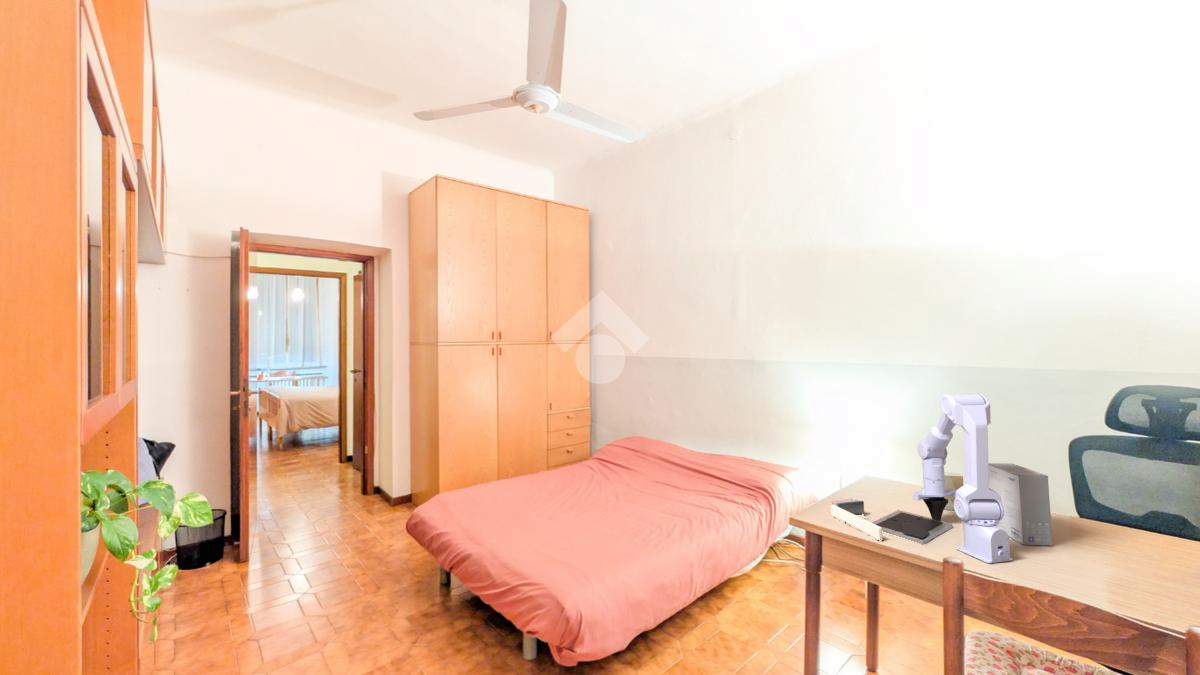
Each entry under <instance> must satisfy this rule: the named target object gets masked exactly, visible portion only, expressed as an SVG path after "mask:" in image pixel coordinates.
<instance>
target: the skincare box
mask: <svg viewBox="0 0 1200 675" xmlns="http://www.w3.org/2000/svg"><path fill="white" fill-rule="evenodd" d="M944 476H945V489H953V490H958V489H959V488H960V487H962V486H963V485H964V476H963V474H961V473H960V472H949V471H947V472H946V471H944ZM944 498H945V499H947V500H948V504H947V505H946V506H945V508H944V510H947V511H955V510H954V500H955V497H953V496H948V497H944Z"/></svg>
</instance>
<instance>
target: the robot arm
mask: <svg viewBox="0 0 1200 675" xmlns="http://www.w3.org/2000/svg"><path fill="white" fill-rule="evenodd" d="M940 409H941V415H940V418H939V421H938V423H937V424H936V425H933V426H932V427H931V428H930V430H929V432H928V434H927V436H926V437H925V439H922V440H919V441H918V443H917V452H918V455H919V456H920V458H921V464H922V477H923V480H922V481H923V482H922V483H923V488H922V490H919V491H917V492H912V499H913V500H915V501H923V502H924V503H925V506H926V507H927V509H928V511H929V514H930V518H932V519H934V520H936V521H942V516H943V514H944V508H945V506H946V505H947V504H948V500H947V499H945V498H944V497H948V496H953V497H955V500H954V510H953V511H954V512H955V514H956V515H957V517H958V518H959V519H960V520H962V526H963V528H962V529H963V544H964V546H958V547H956V550H958V551H960V552H962V553H964V554H966V555H968V556H971V557H974V558H976V559H978V560H980V561H982V562H984V563H987V564H995V563H1002V562H1008V561H1013V560H1014V559H1013V558H1012V556H1011V552H1010V551H1011V550H1010V549H1011V548H1010V537H1009V536H1008V534H1007V533H1006V532H1005V531H1004V530H1002V529H1001V528H999V527H998V526H997V525H996V524H999V521H1000V520H1002V519H1003V517H1004V508H1003V505H1002V502H1001V496H1000V495H999V494H998V493H997V492H995V491H994V490H992V489H991V488H989V467H988V463H989V439H988V438H989V434H988V433H989V432H988V431H989V430H988V429H989V428H988V427H989V425H990V424H992V423H991V419H992V417H991V415H992V414H991V403H990V401H989V400H988V399H987V397H986V396H985V395H984V394H982V393H980V392H979V393H969V394H968V393H966V394H964V393H963V394H949V393H945V394H943V395H942V397H941V399H940ZM956 425H957V426H959V427H961V428H962V430H963V447H964V448H963V453H964V483H963V486H962V487H960V488H959V489H958V490H953V489H945V476H944V472H945V465H946V464H947V462H946V461H947V458H948V450H947V447H948V445H949V443H950V442H951V440H952V439H953V435H954V434H953V432H952V430H953V429H954V427H955V426H956Z"/></svg>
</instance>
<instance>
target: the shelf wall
mask: <svg viewBox="0 0 1200 675" xmlns="http://www.w3.org/2000/svg"><path fill="white" fill-rule="evenodd" d="M831 515H833V516H835V517H838V518H839V519H842V520H844V521H846V522H848V523H850V524H852V525H853V526H855V527H857V528H859V529H860V530H862V531H864V532H866V533H868V534H870V535H872V536H874V537H876V538H877V539H879V540H883V533H882V528H881V527H879V526H877V525H875V524H873V523H872V522H871V521H869V520H867V519H862V518H860V517H858V516H856V515H854V514H852V513H850V512H848V511H846V510H844V509H841V508H839V507H837V506H835V505H832V504H830V516H831Z"/></svg>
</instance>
